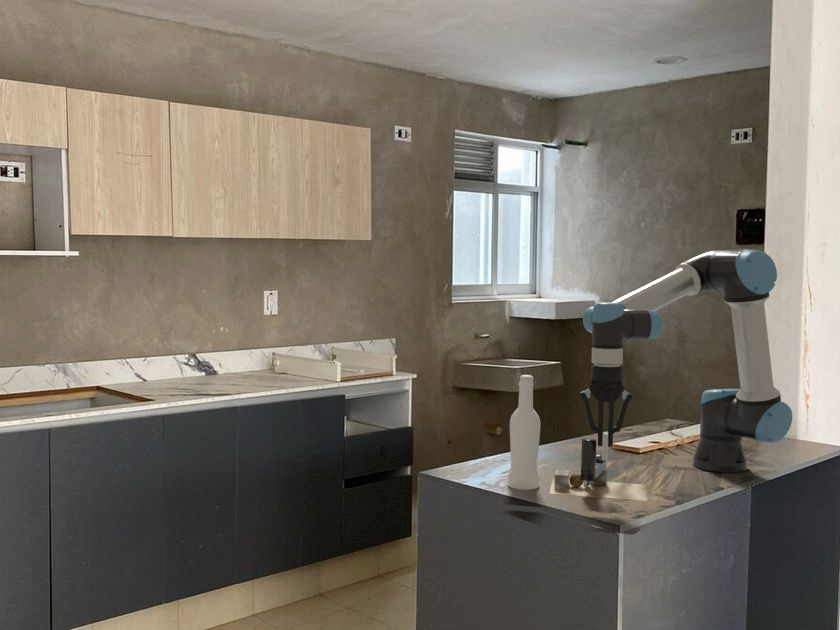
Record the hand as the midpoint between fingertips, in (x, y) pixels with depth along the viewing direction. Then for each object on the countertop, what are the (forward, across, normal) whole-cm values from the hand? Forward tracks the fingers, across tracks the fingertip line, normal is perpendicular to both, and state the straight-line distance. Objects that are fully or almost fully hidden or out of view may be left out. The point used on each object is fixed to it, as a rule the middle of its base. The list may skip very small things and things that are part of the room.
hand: (604, 459), depth 212 cm
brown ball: (+9, +6, -7) cm, 13 cm away
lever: (+9, +3, -6) cm, 11 cm away
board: (+11, +1, -7) cm, 13 cm away
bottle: (+11, +20, -5) cm, 24 cm away
